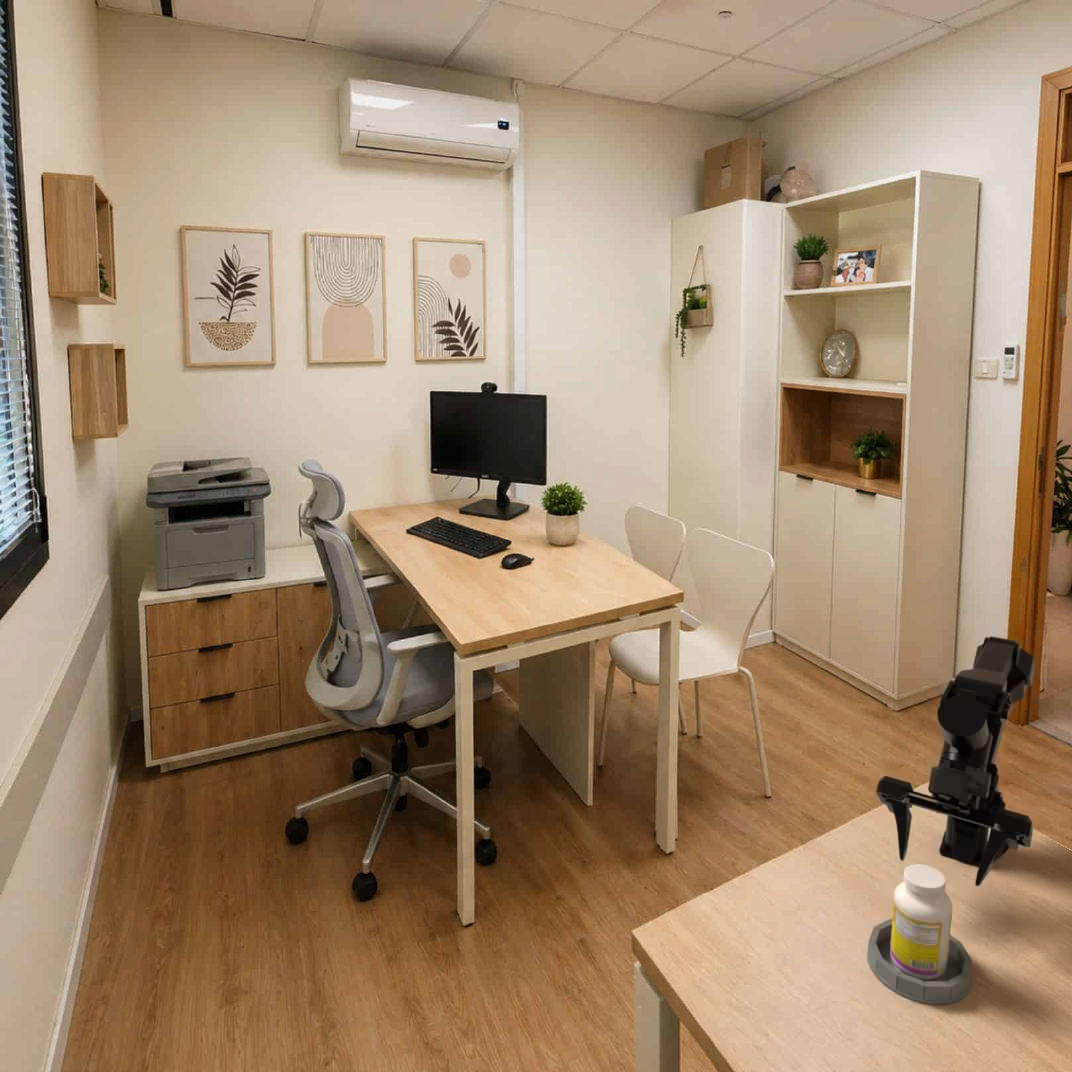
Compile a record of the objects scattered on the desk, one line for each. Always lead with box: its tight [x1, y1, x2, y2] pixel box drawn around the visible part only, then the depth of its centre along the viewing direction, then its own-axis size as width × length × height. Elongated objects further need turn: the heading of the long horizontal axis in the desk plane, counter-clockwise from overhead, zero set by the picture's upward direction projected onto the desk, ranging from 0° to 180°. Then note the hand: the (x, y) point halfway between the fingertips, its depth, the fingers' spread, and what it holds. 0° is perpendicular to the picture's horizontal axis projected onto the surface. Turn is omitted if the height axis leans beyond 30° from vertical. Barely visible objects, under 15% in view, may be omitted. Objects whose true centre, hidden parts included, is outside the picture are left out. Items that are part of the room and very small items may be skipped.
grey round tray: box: [866, 918, 973, 1006], centre depth 104 cm, size 12×12×2 cm
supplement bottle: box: [890, 863, 953, 980], centre depth 103 cm, size 7×7×13 cm
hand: (938, 872), depth 109 cm, fingers open, 9 cm apart
